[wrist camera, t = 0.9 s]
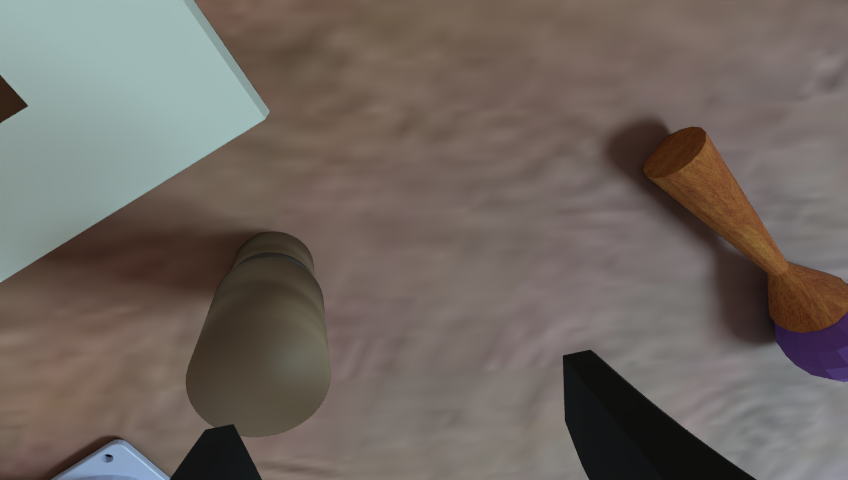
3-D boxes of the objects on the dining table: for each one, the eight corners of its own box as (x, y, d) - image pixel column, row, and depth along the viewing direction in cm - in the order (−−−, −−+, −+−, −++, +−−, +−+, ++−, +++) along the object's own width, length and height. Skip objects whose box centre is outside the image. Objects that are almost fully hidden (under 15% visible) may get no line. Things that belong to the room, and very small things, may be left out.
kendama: (762, 98, 22) (942, 332, 28) (662, 112, 28) (830, 305, 34) (687, 203, 21) (887, 416, 28) (601, 195, 27) (783, 374, 33)
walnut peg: (264, 322, 24) (245, 459, 16) (207, 257, 22) (153, 371, 14) (336, 277, 24) (356, 388, 16) (286, 208, 22) (278, 293, 14)
